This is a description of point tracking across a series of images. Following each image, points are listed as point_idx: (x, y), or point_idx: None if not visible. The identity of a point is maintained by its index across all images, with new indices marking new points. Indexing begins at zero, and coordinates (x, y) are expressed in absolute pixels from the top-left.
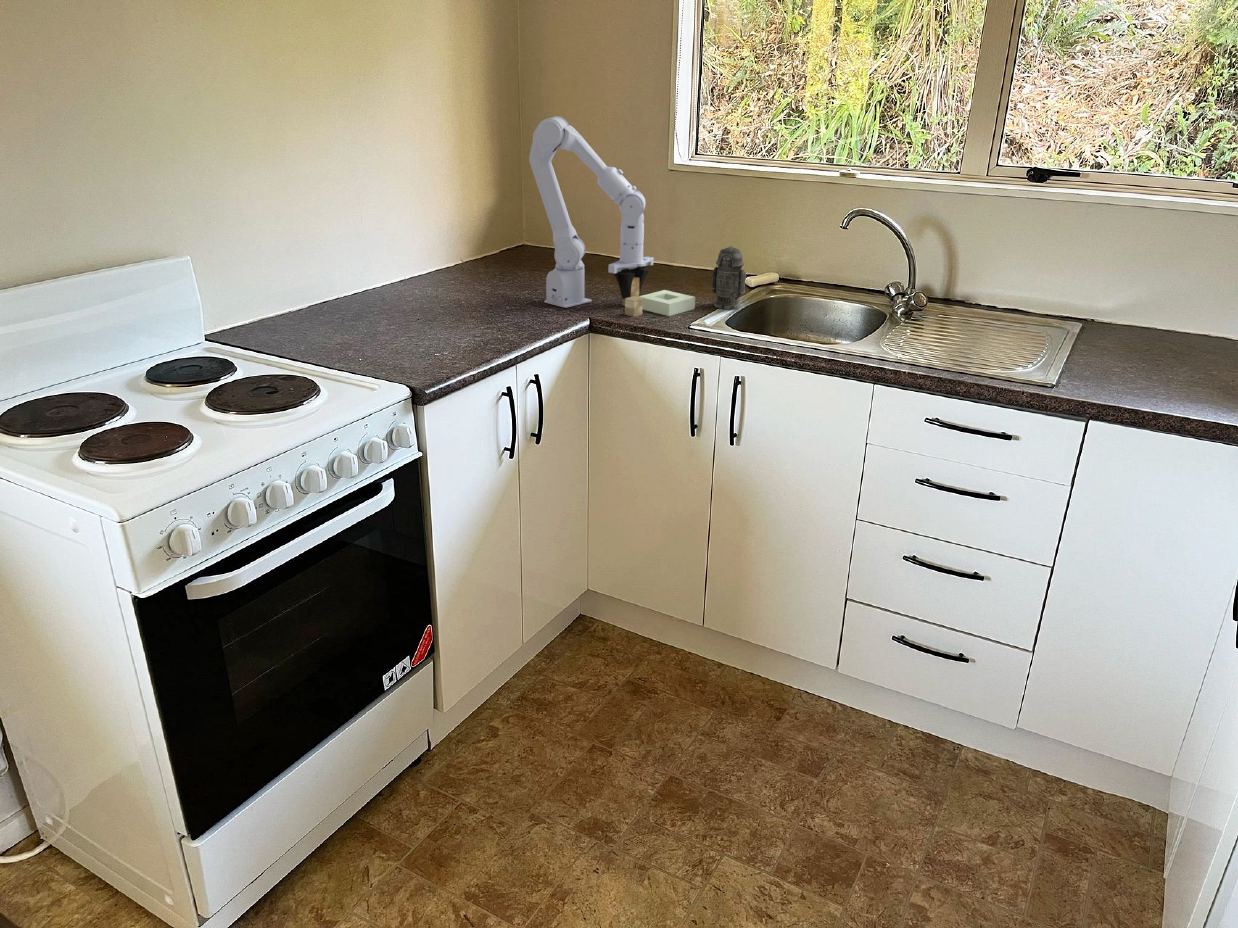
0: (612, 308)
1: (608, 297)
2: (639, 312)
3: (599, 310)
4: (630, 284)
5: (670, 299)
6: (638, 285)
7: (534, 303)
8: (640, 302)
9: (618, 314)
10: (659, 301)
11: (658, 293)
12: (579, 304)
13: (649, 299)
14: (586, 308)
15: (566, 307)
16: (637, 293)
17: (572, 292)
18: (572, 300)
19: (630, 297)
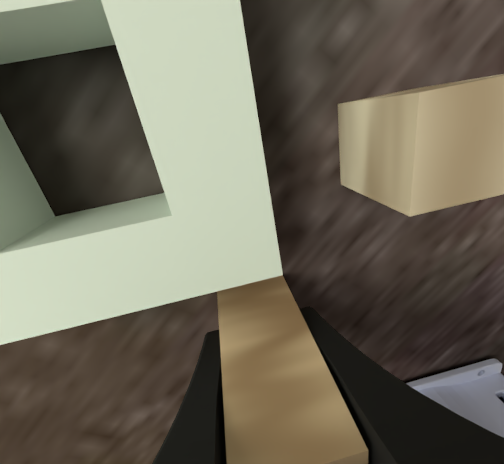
0: (365, 293)
1: None
2: (377, 96)
3: (431, 290)
4: (367, 386)
5: (50, 1)
6: (235, 396)
7: None
8: (423, 90)
9: None
10: (236, 8)
11: (67, 286)
12: (428, 377)
13: (263, 159)
14: (440, 334)
15: (494, 358)
16: (238, 337)
17: (499, 433)
18: (465, 396)
19: (459, 195)
